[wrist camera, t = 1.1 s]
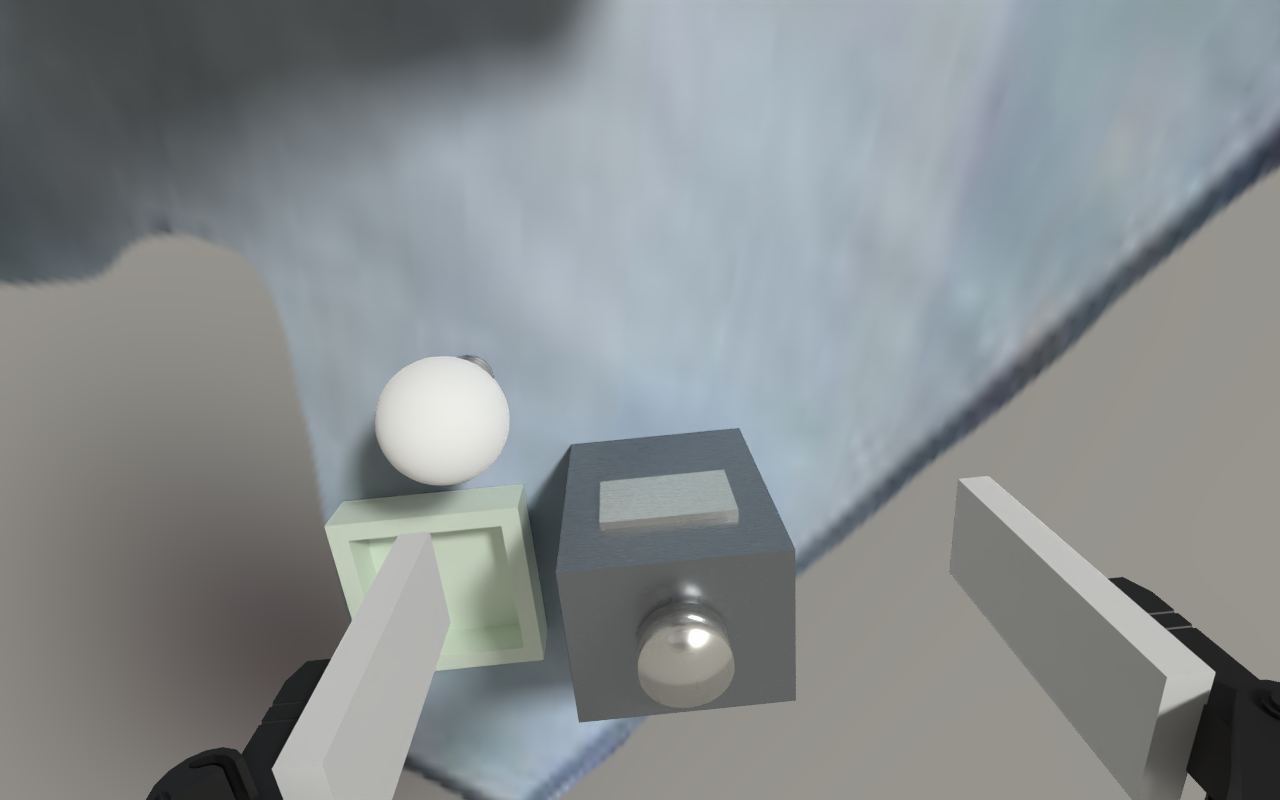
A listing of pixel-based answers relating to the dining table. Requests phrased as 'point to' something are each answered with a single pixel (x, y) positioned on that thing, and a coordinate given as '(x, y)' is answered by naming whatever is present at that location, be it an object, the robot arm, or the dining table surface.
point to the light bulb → (442, 419)
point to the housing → (674, 578)
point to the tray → (456, 566)
